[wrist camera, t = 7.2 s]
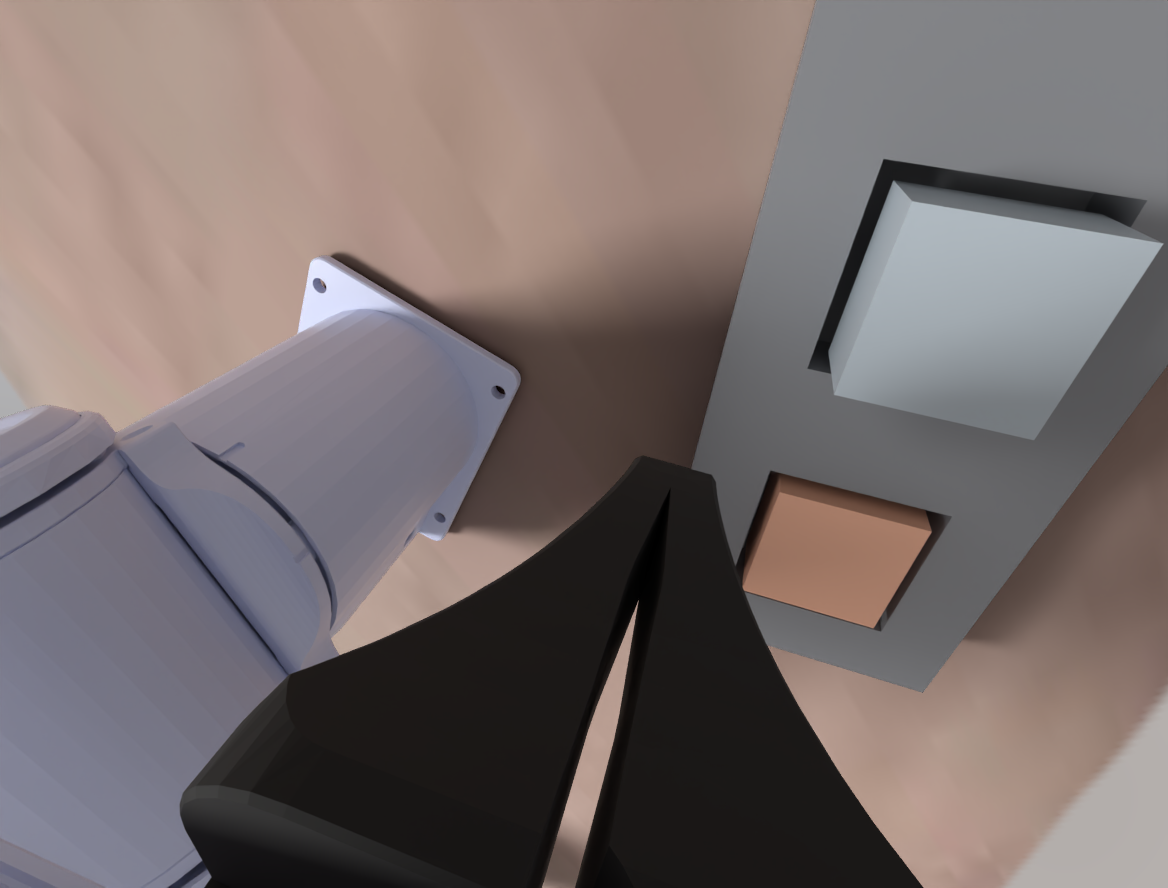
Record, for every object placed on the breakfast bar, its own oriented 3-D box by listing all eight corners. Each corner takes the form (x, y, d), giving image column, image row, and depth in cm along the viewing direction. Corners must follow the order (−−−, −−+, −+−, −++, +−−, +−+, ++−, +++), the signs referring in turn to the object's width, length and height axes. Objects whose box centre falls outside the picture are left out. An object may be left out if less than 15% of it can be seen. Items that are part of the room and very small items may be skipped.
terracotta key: (865, 573, 20) (873, 628, 18) (746, 540, 21) (741, 589, 19) (916, 480, 18) (931, 531, 16) (780, 446, 18) (779, 491, 16)
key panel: (910, 632, 21) (922, 692, 19) (666, 562, 23) (653, 610, 21) (1784, -688, 7) (2178, -985, 5) (985, -635, 9) (1044, -847, 7)
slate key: (1000, 388, 14) (1034, 440, 12) (828, 351, 15) (834, 394, 13) (1102, 214, 12) (1163, 243, 10) (893, 179, 12) (912, 200, 11)
